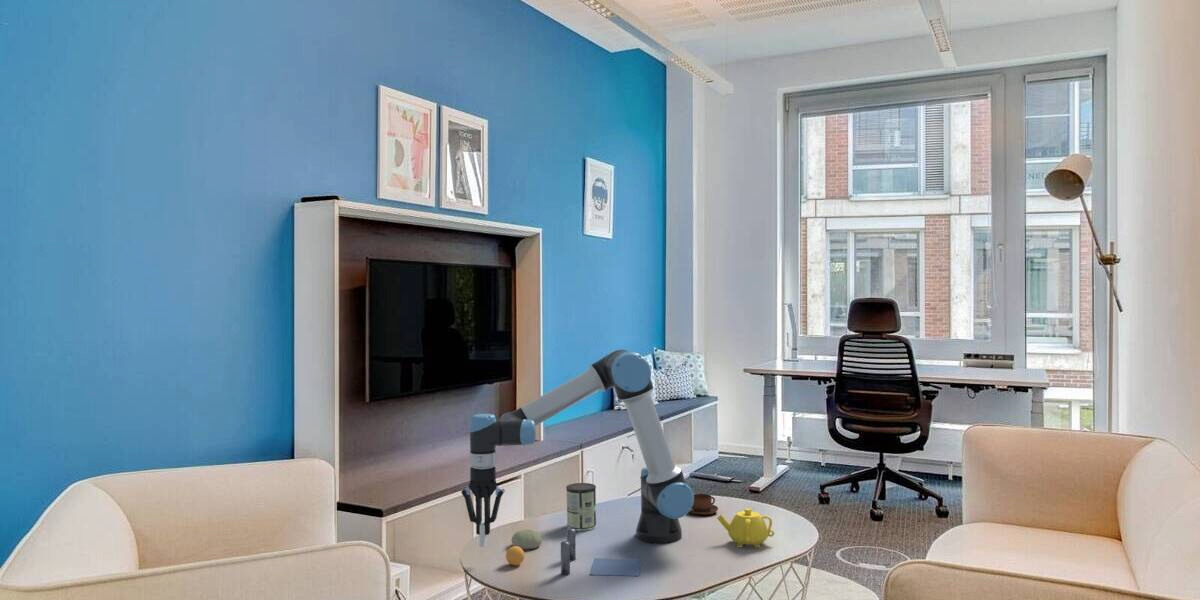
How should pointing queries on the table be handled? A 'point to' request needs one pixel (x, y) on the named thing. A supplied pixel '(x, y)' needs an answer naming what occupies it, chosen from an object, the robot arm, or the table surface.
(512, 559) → the ball
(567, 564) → the post
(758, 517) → the teapot
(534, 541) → the sea urchin shell
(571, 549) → the post
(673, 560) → the table surface
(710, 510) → the cup and saucer
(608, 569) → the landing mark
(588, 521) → the coffee can
